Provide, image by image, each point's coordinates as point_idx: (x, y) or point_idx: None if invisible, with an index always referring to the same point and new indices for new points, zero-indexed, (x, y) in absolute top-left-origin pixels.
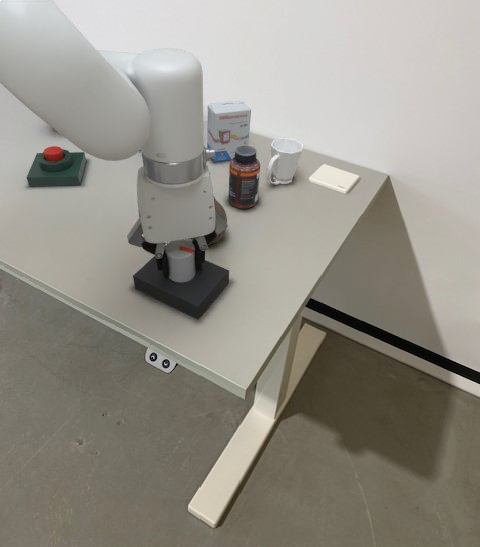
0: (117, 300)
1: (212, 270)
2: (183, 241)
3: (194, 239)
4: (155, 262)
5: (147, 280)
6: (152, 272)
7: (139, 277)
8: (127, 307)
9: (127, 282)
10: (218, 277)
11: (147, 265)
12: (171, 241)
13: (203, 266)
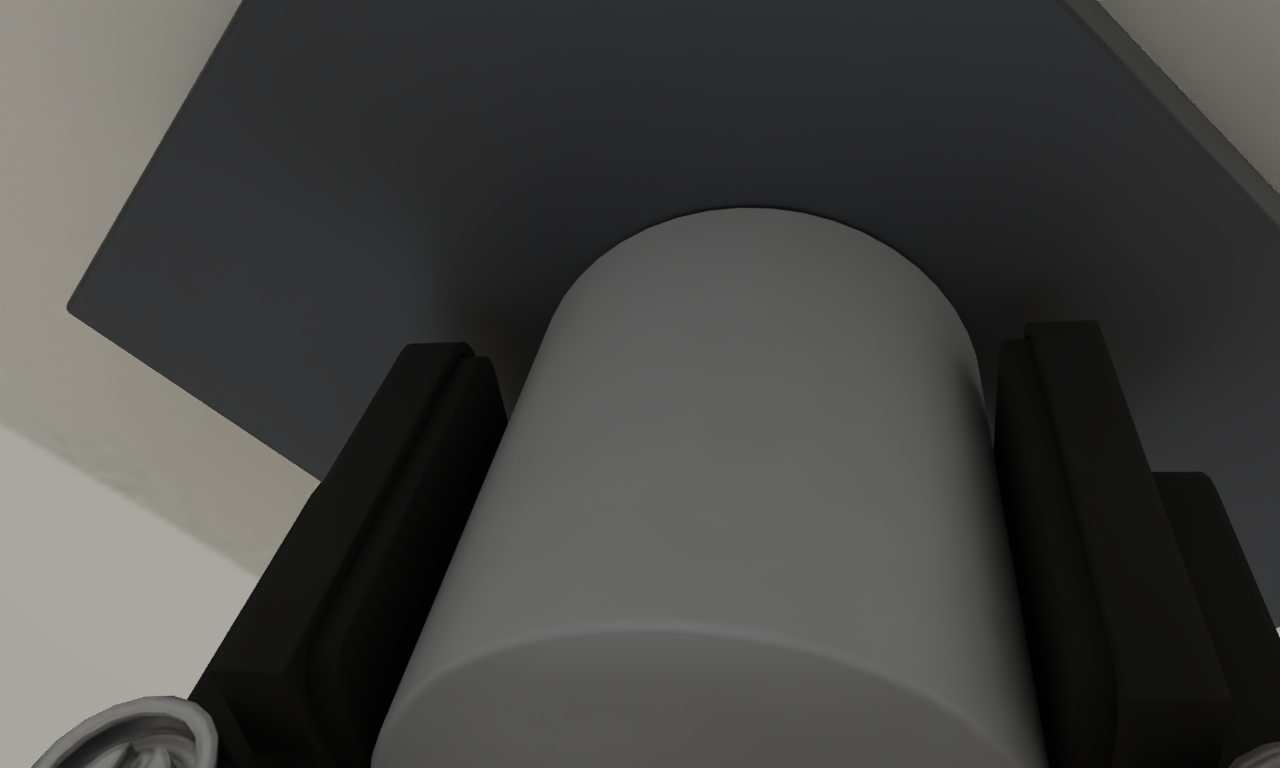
0: (57, 307)
1: (1256, 457)
2: (827, 723)
3: (1166, 703)
4: (337, 105)
5: (280, 428)
6: (323, 307)
7: (163, 357)
8: (184, 409)
9: (72, 56)
10: (1276, 582)
11: (219, 144)
12: (507, 670)
13: (1146, 346)
